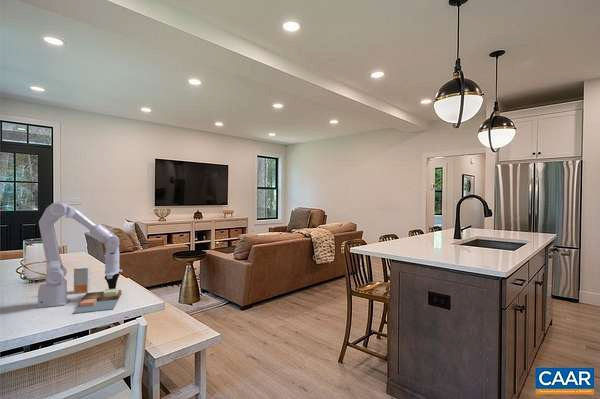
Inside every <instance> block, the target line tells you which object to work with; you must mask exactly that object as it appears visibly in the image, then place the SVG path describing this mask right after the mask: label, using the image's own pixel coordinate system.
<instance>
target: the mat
mask: <svg viewBox="0 0 600 399" xmlns="http://www.w3.org/2000/svg"><path fill="white" fill-rule="evenodd" d="M118 302H119V300H118V299H117V300H107V301H97V302H96V304H95V305H94V306H86V307H80V304H79V305H78V306H77V308H75V310H74V311H73V312H72V315H76V314H85V313H93V312H95V313H96V312H102V311H111V310H112V311H113V310H114V309H115V307H116V305H117V304H118Z"/></svg>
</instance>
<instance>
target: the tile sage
mask: <svg viewBox="0 0 600 399" xmlns="http://www.w3.org/2000/svg"><path fill="white" fill-rule="evenodd" d="M118 290H119V288H118V287H117V288H115V289H109V288H108V289H105V290H104V293H103V296H110V295H117V293H118Z"/></svg>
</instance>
